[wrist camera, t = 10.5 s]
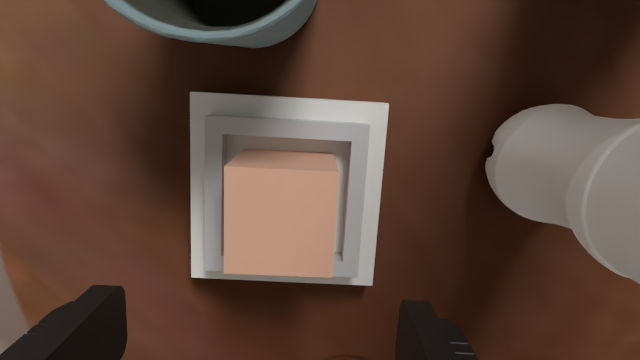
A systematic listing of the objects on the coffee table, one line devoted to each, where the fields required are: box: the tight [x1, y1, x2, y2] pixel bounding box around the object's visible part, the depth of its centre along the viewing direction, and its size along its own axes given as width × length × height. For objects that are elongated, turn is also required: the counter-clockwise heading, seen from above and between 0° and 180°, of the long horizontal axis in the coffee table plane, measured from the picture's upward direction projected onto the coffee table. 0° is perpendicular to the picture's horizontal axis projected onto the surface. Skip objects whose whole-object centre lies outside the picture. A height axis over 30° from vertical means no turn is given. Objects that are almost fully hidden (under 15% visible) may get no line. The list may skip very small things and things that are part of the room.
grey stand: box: [190, 92, 389, 286], centre depth 27 cm, size 12×12×4 cm
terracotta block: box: [224, 149, 339, 278], centre depth 23 cm, size 6×6×6 cm
